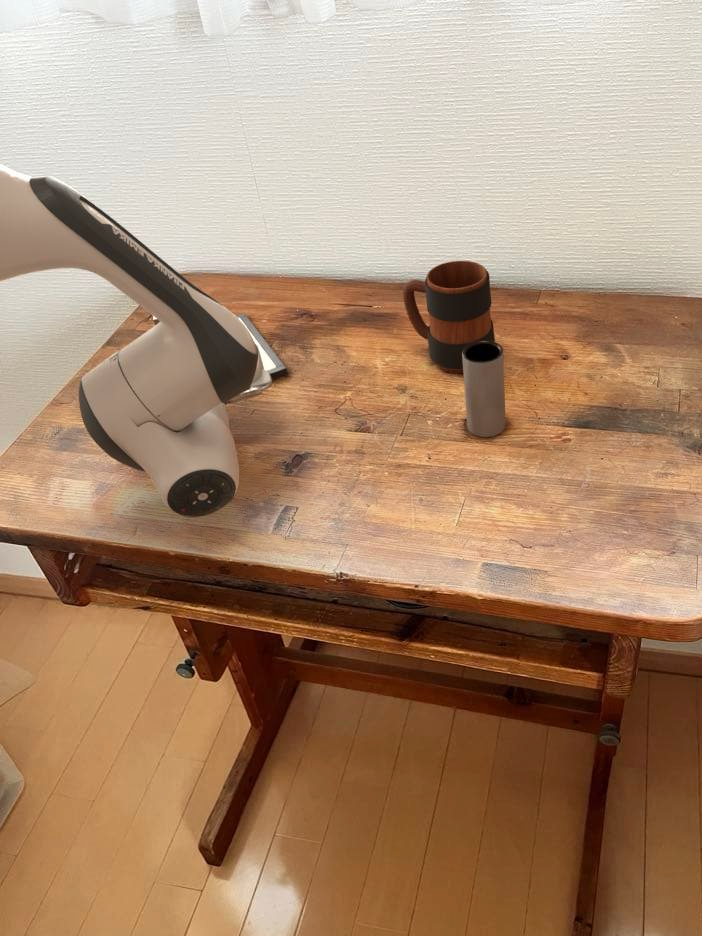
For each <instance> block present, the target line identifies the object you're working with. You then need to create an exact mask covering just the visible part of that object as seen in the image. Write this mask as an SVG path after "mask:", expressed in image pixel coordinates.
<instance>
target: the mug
mask: <svg viewBox="0 0 702 936" xmlns="http://www.w3.org/2000/svg"><path fill="white" fill-rule="evenodd" d="M490 279H491V278H490V273H489V271H488V270H487V268H485V266H484V265H482V264H480V263H478V262H474V261H471V260H452V261H448V262H443V263H441V264H438V265H436V266H434V267H432V268H431V269H430V270H429V271H428V272H427V275H426V277H425V279H424V280H425V281H424V280H421V279H420V280H419V279H411V280H409V281H408V282H407V283H406V284H405V286H404V287H403V291H402V298H403V303H404V308H405V311H406V314H407V316H408V319H409V321H410V323H411V325H412V327H413V329H414V330H415V332H416V334H418V335H419V336H420V337H422V338H423V339H425V340H427V345H428V352H429V358H430V359H431V361H432V362H433V363H434V364H435V365H436V366H437V367H438V368H439V369H441V370H443V371H445V372H449V373H457V374H461V373H463V361H462V351H463V349H464V348H465V347H466V346H467V345H469V344H470V343H473V342H476V341H483V340H486V341H493V342H496V337H495V329H494V323H493V320H492V318H491V307H492V293H491V280H490ZM415 292H417V293H423V294H425V299H426V310H427V312H428V320H429V321H428V322H429V326H428V325H427V323H426V322H425V321H424V319H423V317H422V315H421V313H420V311H419V310H420V309H419V308H418V304H417V302H416V301H417V300H416V297H415Z"/></svg>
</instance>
